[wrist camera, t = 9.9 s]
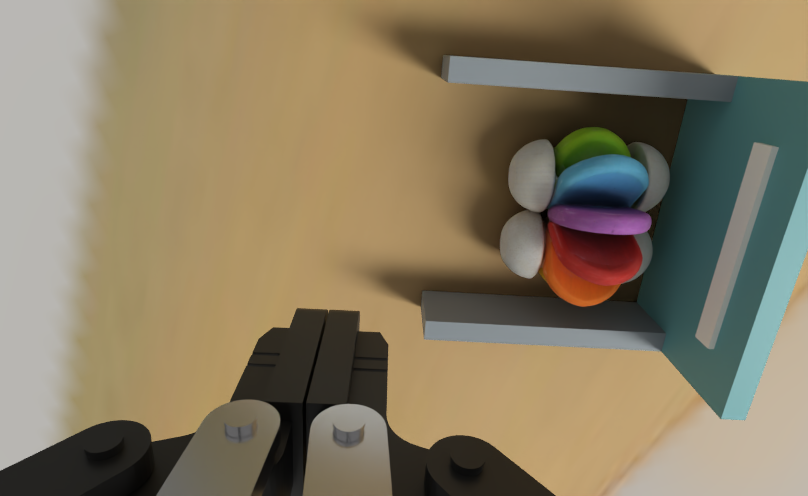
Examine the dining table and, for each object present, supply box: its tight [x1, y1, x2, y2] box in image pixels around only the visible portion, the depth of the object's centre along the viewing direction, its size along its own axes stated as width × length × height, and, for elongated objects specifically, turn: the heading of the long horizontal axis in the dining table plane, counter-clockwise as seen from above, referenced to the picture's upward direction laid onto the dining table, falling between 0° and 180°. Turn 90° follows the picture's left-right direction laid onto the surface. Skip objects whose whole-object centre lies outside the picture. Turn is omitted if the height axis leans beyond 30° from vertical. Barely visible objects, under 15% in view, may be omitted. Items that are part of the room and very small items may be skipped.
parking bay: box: [421, 55, 808, 420], centre depth 27 cm, size 15×15×10 cm
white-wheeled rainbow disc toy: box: [500, 127, 670, 307], centre depth 28 cm, size 8×10×7 cm
